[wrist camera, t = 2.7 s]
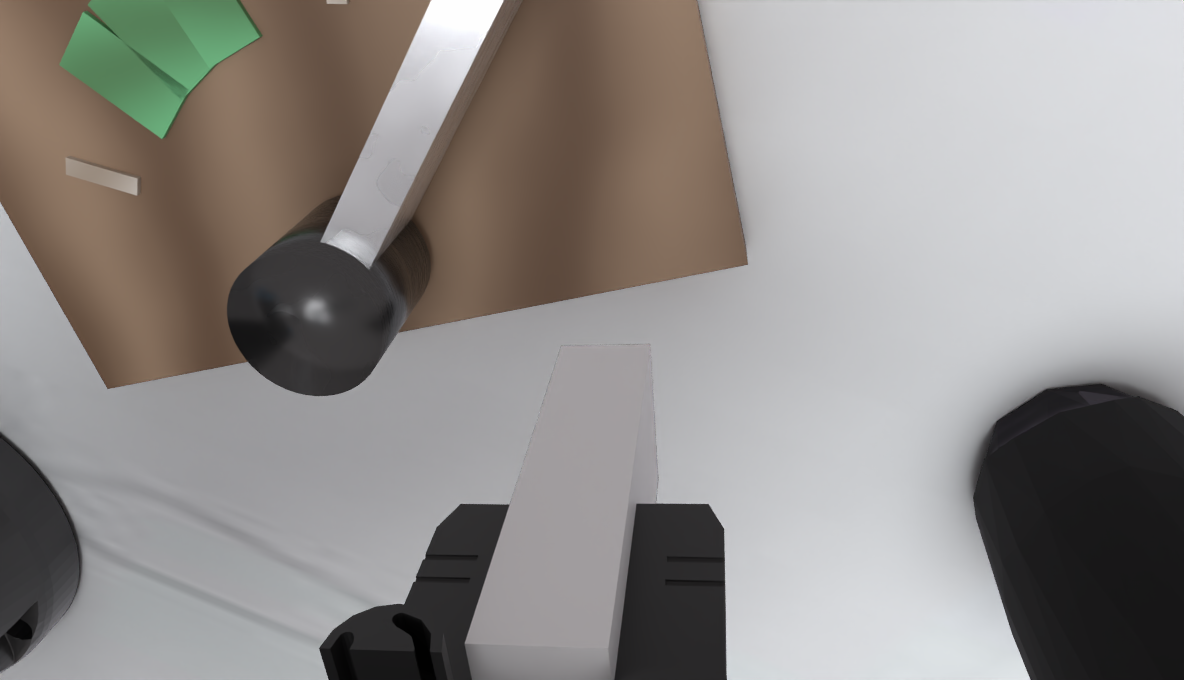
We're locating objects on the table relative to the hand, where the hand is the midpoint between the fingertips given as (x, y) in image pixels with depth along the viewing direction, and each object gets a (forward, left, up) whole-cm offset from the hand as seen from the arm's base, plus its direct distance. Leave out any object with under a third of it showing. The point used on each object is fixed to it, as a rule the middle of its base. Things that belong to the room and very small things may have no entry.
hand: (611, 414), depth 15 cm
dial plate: (-10, +4, -15) cm, 18 cm away
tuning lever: (-7, +2, -13) cm, 15 cm away
